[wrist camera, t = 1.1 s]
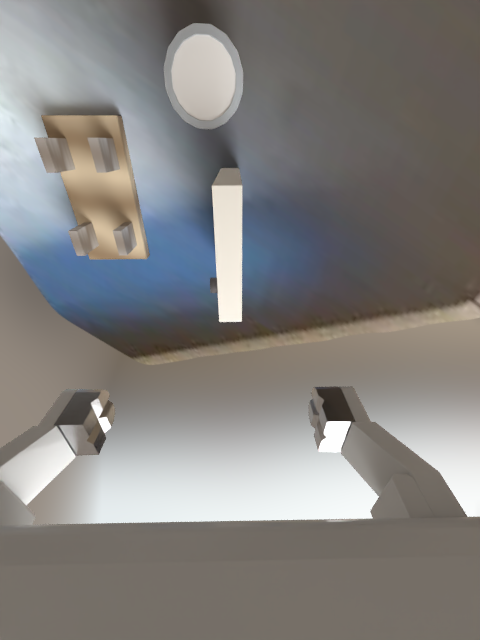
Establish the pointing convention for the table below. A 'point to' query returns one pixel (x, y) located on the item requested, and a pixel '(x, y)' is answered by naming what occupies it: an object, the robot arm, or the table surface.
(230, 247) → the rectangular slab
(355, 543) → the robot arm
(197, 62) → the white cup
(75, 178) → the peg board base
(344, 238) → the table surface
